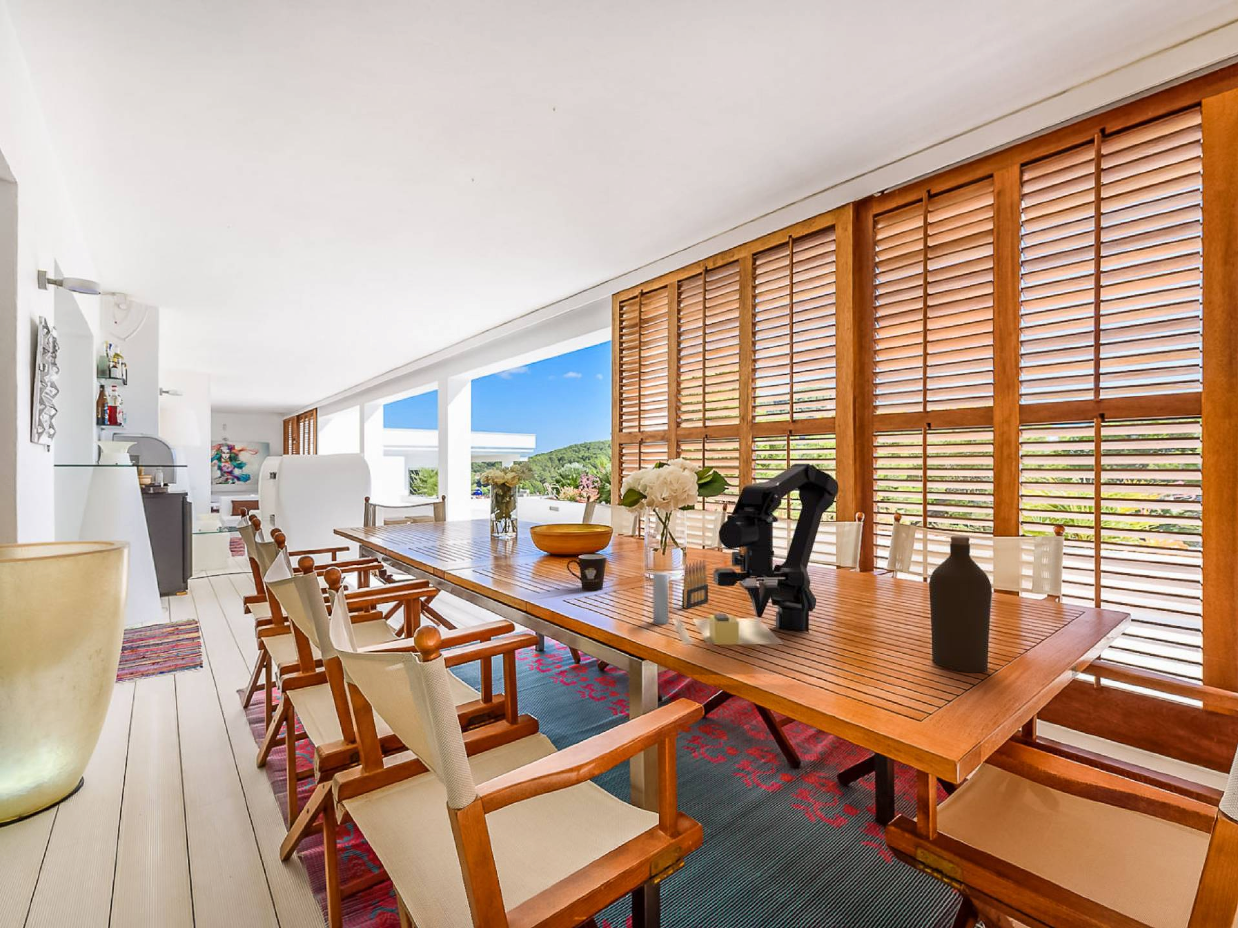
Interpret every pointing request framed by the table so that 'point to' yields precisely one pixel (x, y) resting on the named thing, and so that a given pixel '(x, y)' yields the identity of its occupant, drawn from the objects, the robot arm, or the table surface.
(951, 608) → the olive oil
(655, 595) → the light grey cylinder
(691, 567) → the ammunition clip
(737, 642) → the block
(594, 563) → the coffee mug
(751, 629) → the panel
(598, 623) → the table surface
